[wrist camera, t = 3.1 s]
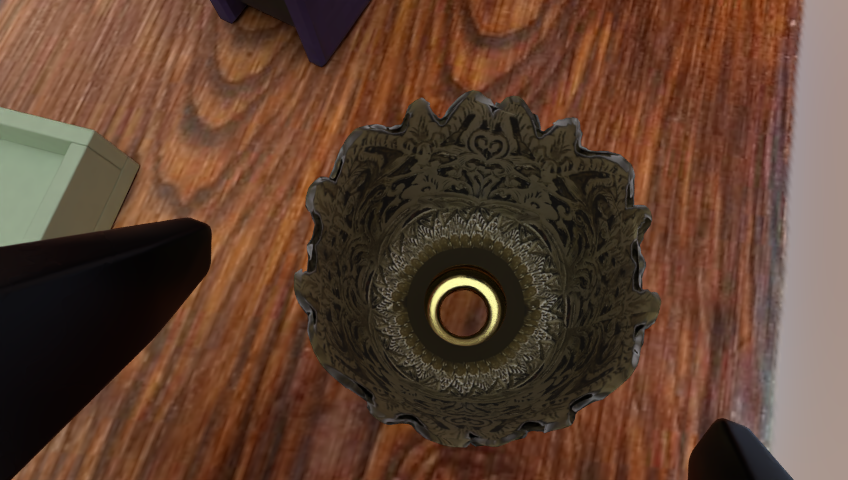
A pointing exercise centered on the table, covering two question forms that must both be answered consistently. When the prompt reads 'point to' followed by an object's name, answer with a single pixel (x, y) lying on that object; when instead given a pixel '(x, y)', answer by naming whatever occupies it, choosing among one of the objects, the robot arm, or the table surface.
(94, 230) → the tray
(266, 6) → the book
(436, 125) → the ornate lamp shade
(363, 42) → the table surface
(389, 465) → the table surface
